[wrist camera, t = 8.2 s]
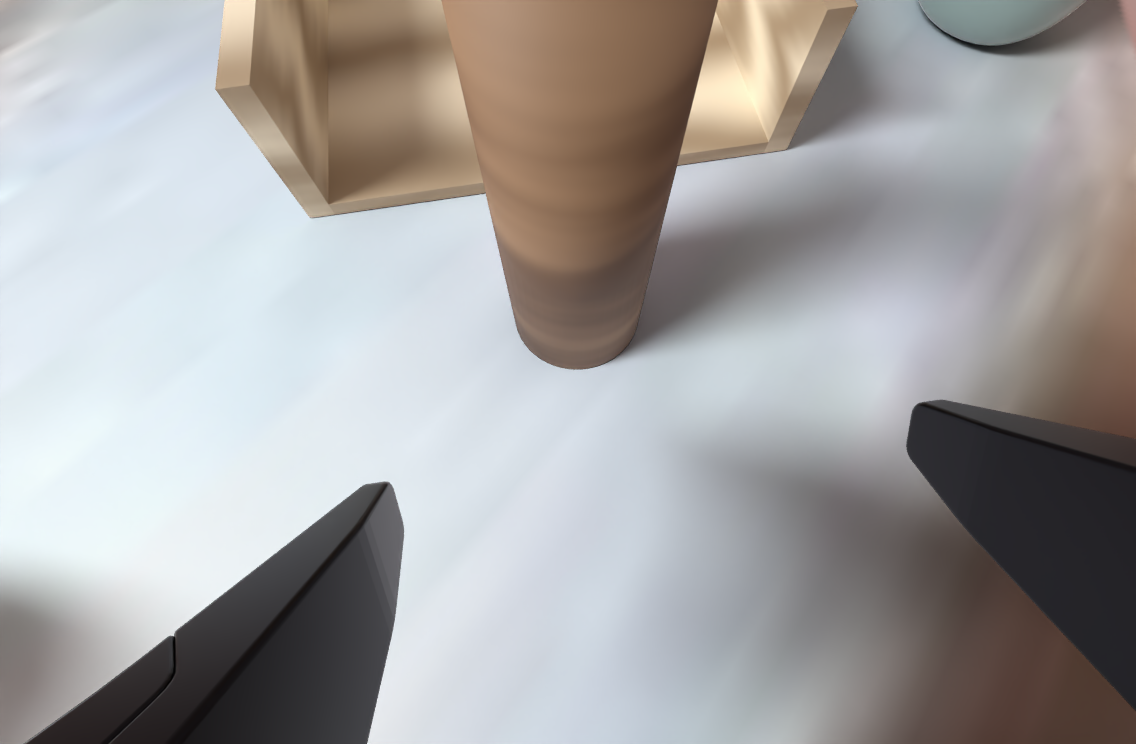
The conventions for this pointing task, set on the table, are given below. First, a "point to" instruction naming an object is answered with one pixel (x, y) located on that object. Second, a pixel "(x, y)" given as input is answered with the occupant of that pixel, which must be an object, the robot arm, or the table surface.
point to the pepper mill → (578, 153)
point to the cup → (997, 18)
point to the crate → (435, 99)
